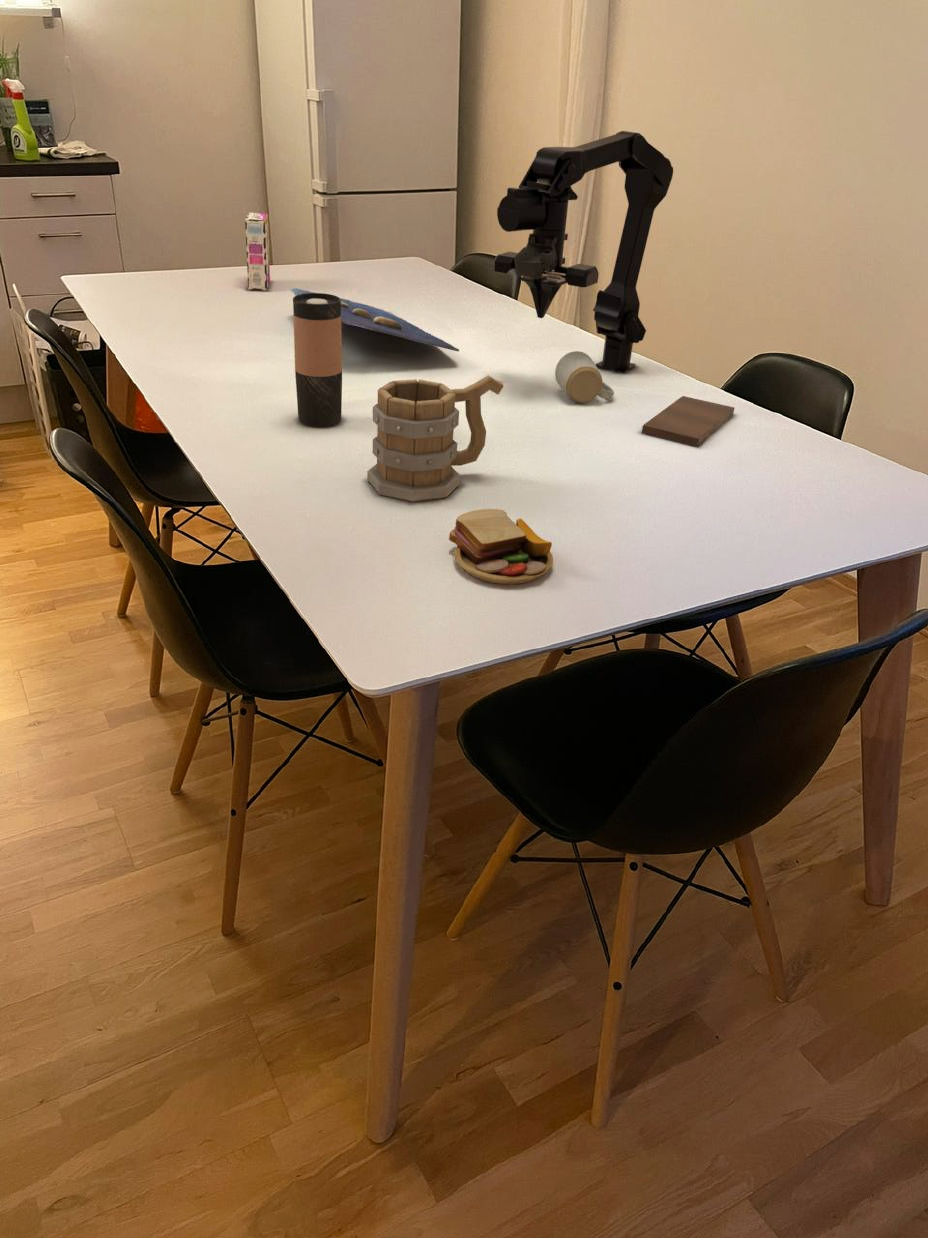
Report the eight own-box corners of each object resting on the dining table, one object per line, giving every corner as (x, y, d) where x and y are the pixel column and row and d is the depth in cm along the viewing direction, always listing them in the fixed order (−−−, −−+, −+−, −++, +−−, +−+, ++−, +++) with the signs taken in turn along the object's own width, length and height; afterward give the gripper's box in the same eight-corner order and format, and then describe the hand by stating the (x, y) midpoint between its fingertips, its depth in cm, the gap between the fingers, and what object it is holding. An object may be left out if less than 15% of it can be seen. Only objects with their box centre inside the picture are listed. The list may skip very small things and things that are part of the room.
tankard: (387, 505, 133) (389, 401, 125) (359, 471, 143) (359, 372, 135) (515, 489, 141) (524, 390, 133) (480, 457, 150) (486, 363, 143)
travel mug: (350, 416, 163) (349, 296, 152) (330, 431, 156) (328, 306, 146) (309, 409, 165) (306, 290, 154) (288, 423, 158) (283, 300, 148)
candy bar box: (268, 291, 235) (265, 220, 226) (247, 290, 234) (243, 219, 225) (271, 281, 244) (268, 212, 235) (251, 280, 243) (247, 211, 235)
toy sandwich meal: (479, 595, 114) (481, 559, 111) (435, 545, 124) (436, 512, 121) (570, 578, 118) (574, 544, 116) (521, 532, 129) (524, 500, 126)
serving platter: (269, 327, 215) (280, 275, 211) (379, 353, 229) (391, 305, 225) (330, 374, 180) (345, 313, 176) (457, 401, 193) (473, 345, 189)
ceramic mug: (563, 405, 174) (569, 363, 170) (552, 390, 181) (557, 349, 177) (618, 405, 176) (625, 364, 172) (605, 391, 183) (611, 351, 179)
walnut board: (681, 403, 179) (682, 395, 178) (733, 415, 175) (734, 407, 174) (641, 433, 164) (642, 424, 163) (697, 446, 160) (698, 438, 159)
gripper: (480, 225, 166) (475, 316, 174) (577, 241, 158) (567, 335, 166) (511, 218, 174) (504, 305, 182) (604, 233, 167) (593, 323, 175)
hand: (540, 317), depth 176 cm, fingers closed
